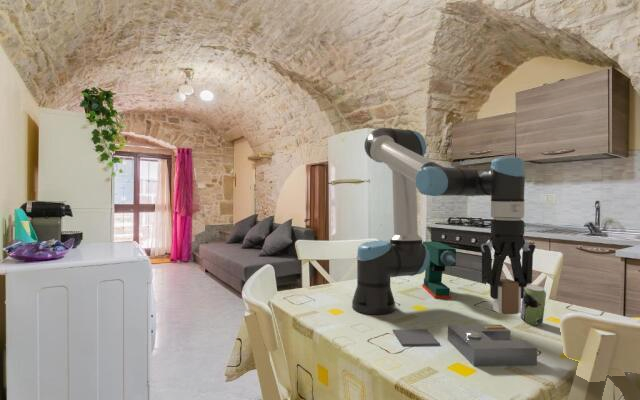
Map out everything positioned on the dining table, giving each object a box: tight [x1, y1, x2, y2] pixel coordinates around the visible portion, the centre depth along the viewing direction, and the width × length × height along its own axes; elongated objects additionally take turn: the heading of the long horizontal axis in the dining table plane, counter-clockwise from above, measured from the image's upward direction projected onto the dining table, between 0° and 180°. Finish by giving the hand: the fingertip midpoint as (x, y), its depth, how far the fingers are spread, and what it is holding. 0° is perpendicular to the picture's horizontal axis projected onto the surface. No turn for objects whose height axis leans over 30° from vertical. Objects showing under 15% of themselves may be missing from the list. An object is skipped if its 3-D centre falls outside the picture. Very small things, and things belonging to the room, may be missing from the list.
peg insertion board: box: [447, 324, 538, 367], centre depth 89 cm, size 15×15×5 cm
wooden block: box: [499, 278, 519, 315], centre depth 89 cm, size 4×4×8 cm
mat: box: [392, 328, 441, 347], centre depth 98 cm, size 10×10×1 cm
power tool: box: [421, 241, 457, 300], centre depth 140 cm, size 32×7×20 cm, turn 179°
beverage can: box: [520, 283, 547, 326], centre depth 110 cm, size 6×7×12 cm
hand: (506, 310), depth 89 cm, fingers closed on wooden block, 4 cm apart
